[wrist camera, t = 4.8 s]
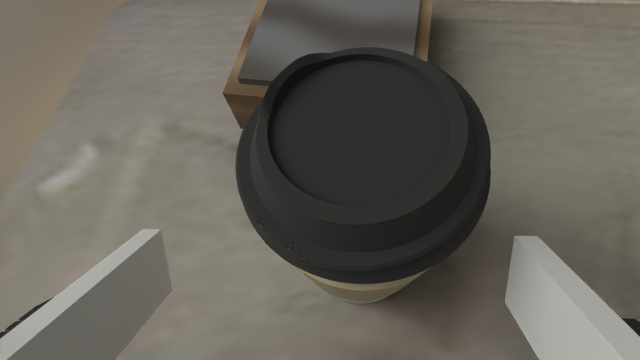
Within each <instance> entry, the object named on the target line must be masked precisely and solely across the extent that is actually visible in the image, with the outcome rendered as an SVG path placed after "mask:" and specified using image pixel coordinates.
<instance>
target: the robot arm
mask: <svg viewBox="0 0 640 360" xmlns="http://www.w3.org/2000/svg"><path fill="white" fill-rule="evenodd" d="M171 291H172V285H171V279H170V274H169V269H168V263H167V258H166V252H165V247H164V241H163V236H162V231H161V229H142V230H141V231H140V232H139V233H137V234H136V235H135V236H133V237H132V238H131V239H129V240H128V241H127V242H126V243H124V244H123V245H122V246H120V247H119V248H118V249H116V250H115V251H114V252H112V253H111V254H110V255H109V256H107V257H106V258H105V259H103V260H102V261H101V262H99V263H98V264H97V265H96V266H94V267H93V268H92V269H90V270H89V271H88V272H86V273H85V274H84V275H83V276H81V277H80V278H79V279H77V280H76V281H75V282H73V283H72V284H71V285H70V286H68V287H67V288H66V289H64V290H63V291H62V292H60V293H59V294H58V295H57V296H55V297H53V298H51V299H49V300H47V301H45V302H44V303H42V304H40V305H38V306H36V307H34V308H33V309H32V310H30V311H29V312H28V313H26V314H25V315H24V316H22V317H21V318H20V319H19V321H16V322H14V323H13V324H12V325H10V326H9V327H8V328H6V330H5V332H1V333H0V360H115V359H116V358H117V356H118V355H119V354H120V353H121V352H122V350H123V349H124V348H125V347H126V345H127V344H128V343H129V342H130V341H131V339H132V338H133V337H134V336H135V335H136V333H137V332H138V331H139V330H140V329H141V327H142V326H143V325H144V324H145V322H146V321H147V320H148V319H149V318H150V316H151V315H152V314H153V313H154V312H155V310H156V309H157V308H158V307H159V306H160V304H161V303H162V302H163V301H164V299H165V298H166V297H167V296H168V295H169V293H170V292H171ZM505 304H506V305H507V307H508V309H509V310H510V312H511V314H512V315H513V317H514V319H515V320H516V322H517V324H518V325H519V327H520V329H521V330H522V332H523V334H524V335H525V337H526V339H527V340H528V342H529V344H530V345H531V347H532V349H533V350H534V352H535V354H536V355H537V357H538V359H539V360H640V322H639V321H637V320H635V319H623V318H620V317H619V316H618V315H617V314H616V313H615V312H614V311H613V310H612V309H611V308H610V307H609V306H608V305H607V304H606V303H605V302H604V301H603V300H602V299H601V298H600V297H599V296H598V295H597V294H596V293H595V292H594V291H593V290H592V289H591V288H590V287H589V286H588V285H587V284H586V283H585V282H584V281H583V280H582V279H581V278H580V277H579V276H578V275H577V274H576V273H574V272H573V271H572V270H571V269H570V268H569V267H568V266H567V265H566V264H565V263H564V262H563V261H562V260H561V259H560V258H559V257H558V256H557V255H556V254H555V253H554V252H553V251H552V250H551V249H550V248H549V247H548V246H547V245H546V244H545V243H544V242H543V241H542V240H541V239H540V238H539V237H538V236H514V242H513V248H512V255H511V262H510V269H509V276H508V283H507V290H506V296H505Z"/></svg>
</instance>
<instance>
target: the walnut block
mask: <svg viewBox="0 0 640 360" xmlns="http://www.w3.org/2000/svg"><path fill="white" fill-rule="evenodd" d="M432 6H433V0H260V1H259V3H258V6H257V8H256V11H255V13H254V16H253V18H252V21H251V23H250V26H249V28H248V31H247V33H246V36H245V38H244V41H243V44H242V46H241V49H240V51H239V54H238V56H237V59H236V61H235V64H234V66H233V69H232V71H231V74H230V76H229V79H228V81H227V84H226V86H225V89H224V91H223V95H224V97H225V99H226V100H227V102H228V104H229V106H230V108H231V110H232V112H233V114H234V116H235V118H236V120H237V122H238V124H239V126H240V128H242V129H244V127H245V124H246V122H247V120H248V119H249V117H250V115H251V113H252V112H253V110H254V109H255V107H256V106H257V105H258V103H259V102H260V101H261V100H262V98H263V97H264V96H265V93H266V91H267V89H268V87H269V85H270V84H271V82H272V81H273V80H274V79H275V78H276V77H277V75H278V74H279V73H280V72H281V71H283V70H284V69H285V68H286V67H287V66H288V65H290V64H291V63H292V62H294V61H295V60H296V59H298V58H300V57H302V56H305V55H308V54H312V53H332V52H336V51H340V50H344V49H350V48H359V47H377V48H387V49H392V50H397V51H401V52H404V53H407V54H410V55H413V56H415V57H417V58H419V59H422V60H424V61H426V62H427V58H428V47H429V37H430V26H431V16H432Z"/></svg>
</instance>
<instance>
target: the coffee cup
mask: <svg viewBox="0 0 640 360" xmlns="http://www.w3.org/2000/svg"><path fill="white" fill-rule="evenodd" d="M490 158H491V151H490V140H489V135H488V130H487V127H486V124H485V121H484V118H483V116H482V114H481V112H480V110H479V108H478V106H477V105H476V103H475V102H474V100H473V99H472V97H471V96H470V95H469V93H468V92H467V91H466V90H465V89H464V88H463V87H462V86H461V85H460V84H459V83H458V82H457V81H456V80H455V79H454V78H452V77H451V76H450V75H449V74H447V73H446V72H444V71H443V70H441V69H440V68H438V67H436V66H435V65H433V64H431V63H429V62H426V61H424V60H422V59H419V58H417V57H415V56H413V55H410V54H407V53H404V52H401V51H397V50H392V49H387V48H377V47H359V48H350V49H344V50H340V51H336V52H332V53H312V54H308V55H305V56H302V57H300V58H298V59H296V60H295V61H294V62H292V63H291V64H290V65H288V66H287V67H286V68H285V69H284V70H283V71H281V72H280V73H279V74H278V75H277V77H276V78H275V79H274V80H273V81H272V82H271V84H270V85H269V87H268V89H267V91H266V93H265V96H264V97H263V98H262V100H261V101H260V102H259V103H258V105H257V106H256V107H255V109H254V110H253V112H252V113H251V115H250V117H249V119H248V120H247V122H246V124H245V127H244V129H243V131H242V134H241V137H240V140H239V144H238V149H237V155H236V180H237V186H238V190H239V194H240V197H241V200H242V202H243V205H244V208H245V211H246V213H247V215H248V218H249V219H250V221H251V223H252V225H253V227H254V228H255V230H256V231H257V233H258V234H259V235H260V237H261V238H262V239H263V240H264V241H265V243H266V244H267V245H268V246H269V247H270V248H271V249H272V250H273V251H275V252H276V253H277V254H278V255H279V256H281V257H282V258H283V259H285V260H286V261H288V262H289V263H291V264H292V265H294V266H295V267H297V268H298V269H299V270H300V271H301V272H302V273H303V274H305V275H306V276H307V277H308V278H309V279H310V280H312V281H313V282H314V283H315V284H316V285H317V286H319V287H320V288H321V289H323V290H324V291H326V292H328V293H329V294H331V295H333V296H335V297H336V298H338V299H340V300H343V301H346V302H349V303H355V304H367V303H373V302H377V301H379V300H382V299H384V298H386V297H388V296H389V295H391V294H393V293H395V292H397V291H399V290H400V289H402V288H403V287H405V286H406V285H407V284H409V283H410V282H412V281H413V280H414V279H416V278H417V277H419V276H420V275H422V274H423V273H424V272H426V271H427V270H429V269H430V268H431V267H433V266H434V265H436V264H438V263H439V262H441V261H442V260H444V259H445V258H446V257H448V256H449V255H450V254H451V253H453V252H454V251H455V250H456V249H457V248H458V247H459V246H460V245H461V244H462V243H463V242H464V241H465V240H466V238H467V237H468V236H469V235H470V233H471V232H472V230H473V229H474V227H475V226H476V224H477V222H478V221H479V219H480V217H481V215H482V212H483V210H484V208H485V204H486V201H487V198H488V193H489V188H490V175H491V171H490Z"/></svg>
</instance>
